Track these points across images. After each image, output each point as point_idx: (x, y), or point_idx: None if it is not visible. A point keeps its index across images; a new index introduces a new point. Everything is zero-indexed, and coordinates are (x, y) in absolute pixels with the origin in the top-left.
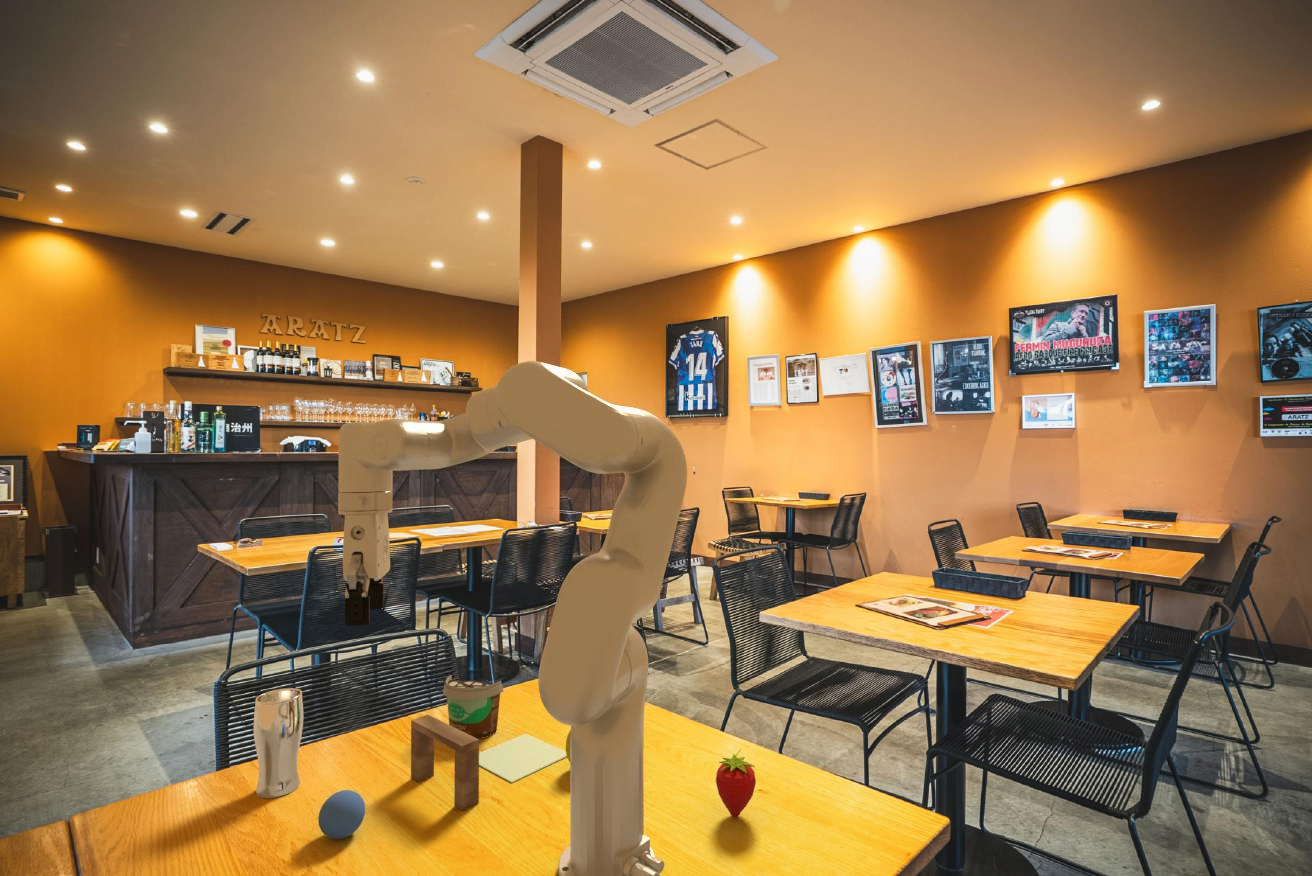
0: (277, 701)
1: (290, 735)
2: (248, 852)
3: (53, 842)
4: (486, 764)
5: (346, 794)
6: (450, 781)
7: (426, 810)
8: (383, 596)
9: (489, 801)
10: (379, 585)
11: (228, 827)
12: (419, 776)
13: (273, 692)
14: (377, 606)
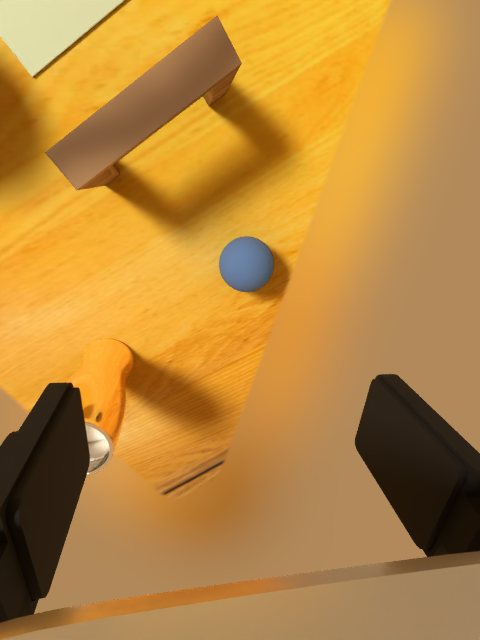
0: None
1: (112, 386)
2: (246, 343)
3: (181, 494)
4: (66, 31)
5: (255, 265)
6: None
7: (209, 152)
8: (25, 424)
9: None
10: (24, 516)
11: (191, 378)
12: (116, 170)
13: None
14: (77, 409)
